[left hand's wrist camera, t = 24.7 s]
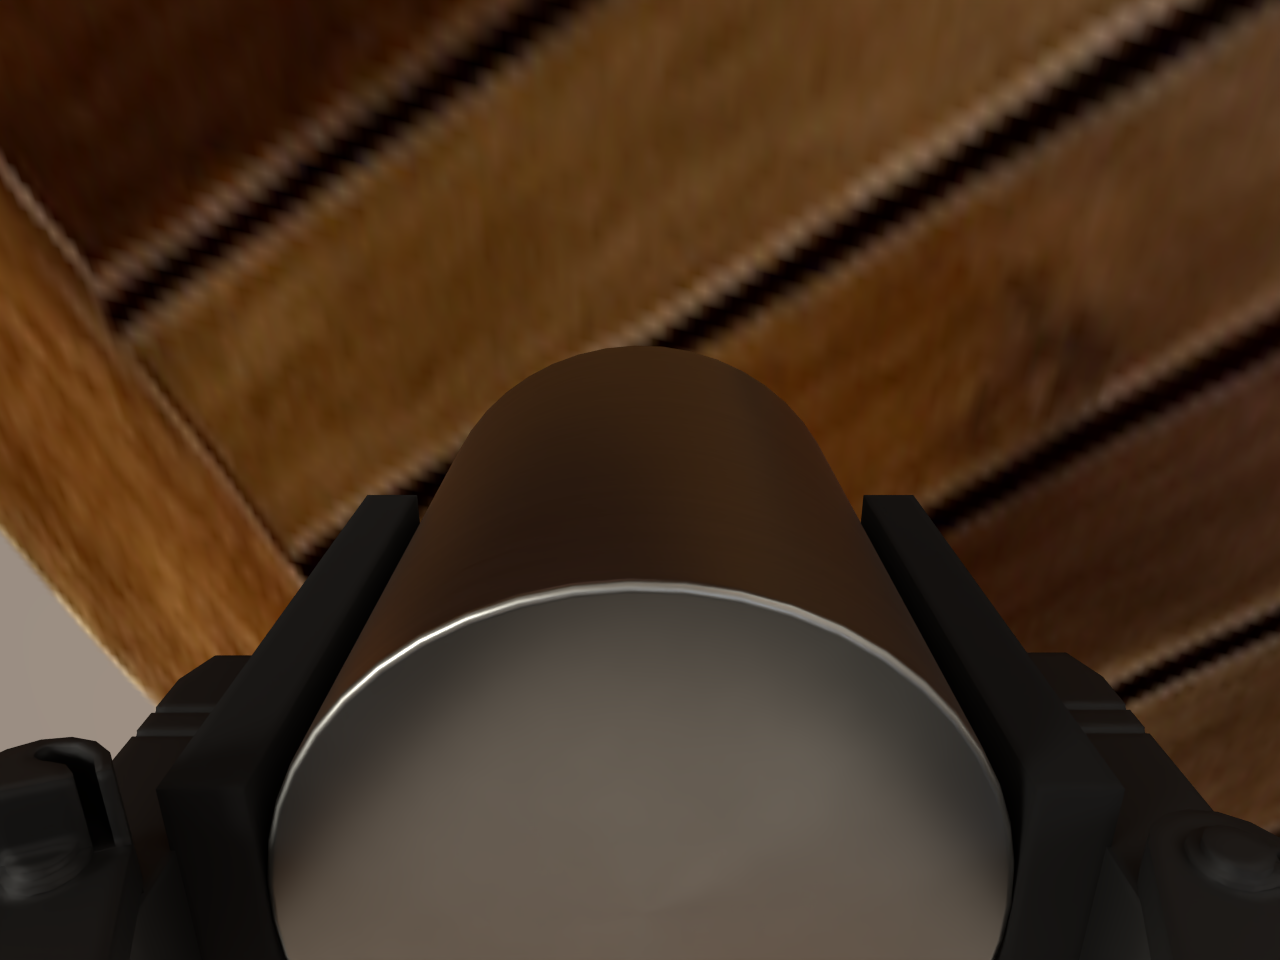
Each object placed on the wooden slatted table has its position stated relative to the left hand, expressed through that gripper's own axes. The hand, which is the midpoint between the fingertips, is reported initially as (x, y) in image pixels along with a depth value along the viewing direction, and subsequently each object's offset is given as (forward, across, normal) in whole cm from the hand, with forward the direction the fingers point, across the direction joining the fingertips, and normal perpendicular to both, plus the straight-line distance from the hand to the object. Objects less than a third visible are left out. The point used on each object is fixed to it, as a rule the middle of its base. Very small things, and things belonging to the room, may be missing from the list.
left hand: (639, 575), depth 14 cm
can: (+1, 0, 0) cm, 1 cm away
